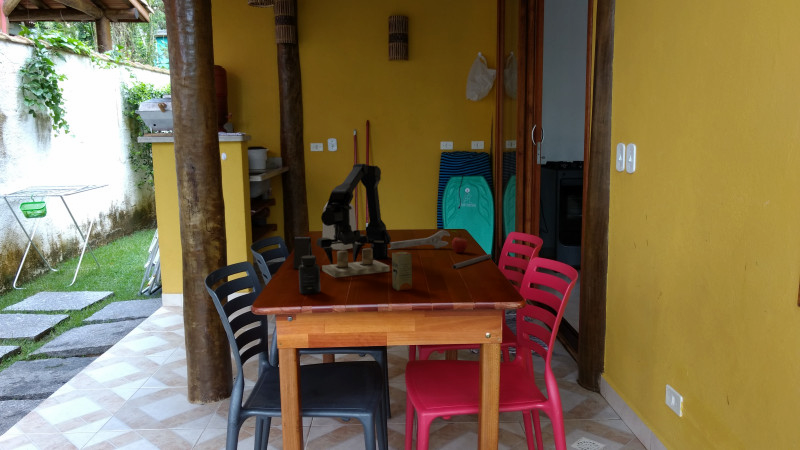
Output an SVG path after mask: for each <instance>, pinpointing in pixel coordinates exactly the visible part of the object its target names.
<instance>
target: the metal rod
mask: <svg viewBox="0 0 800 450" xmlns="http://www.w3.org/2000/svg"><path fill="white" fill-rule="evenodd" d="M491 258H492V254H491V253H488V254H484V255H481V256H478V257H475V258H471V259H468V260H465V261H461V262H458V263H454V264H453V265H452V266H451V267H452V269H454V270H457V269H460V268H463V267H466V266H469V265H472V264H476V263H478V262H482V261H485V260H488V259H491Z"/></svg>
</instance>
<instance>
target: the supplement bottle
mask: <svg viewBox="0 0 800 450" xmlns="http://www.w3.org/2000/svg"><path fill="white" fill-rule="evenodd" d="M301 263H302V265H300V266H299V269H298V280H299V281H298V282H299V283H298V284H299V285H298V286H299V293H300V294H302V295H309V296H310V295H316V294H319V293H320V292H321V269H320V265H318V263H317V256H316V255H313V256H303V257H301Z"/></svg>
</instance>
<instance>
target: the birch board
mask: <svg viewBox="0 0 800 450" xmlns="http://www.w3.org/2000/svg"><path fill="white" fill-rule="evenodd" d="M337 266H338V263H333V265H331V264H326V265H321V267H322V268H321V270H322V272H324V273H325V274H328V275H330V276H331V277H332V278H333V277H334V278H344V277H345V278H346V277H352V276H361V275H370V274H377V273H386V272H390V265H387V264H386V263H383V262H380V261H378V260H377V259H373V266H362V260H361V261H356V262H354V261H353V262H352V261H351V262H348V268H346V269H338V267H337Z"/></svg>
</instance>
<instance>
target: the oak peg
mask: <svg viewBox="0 0 800 450" xmlns="http://www.w3.org/2000/svg"><path fill="white" fill-rule="evenodd" d="M336 256H337V262H336V263H337V264H338V266H337V267H338V269H346V268H348V263H349V251H347V250H337V251H336Z"/></svg>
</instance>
